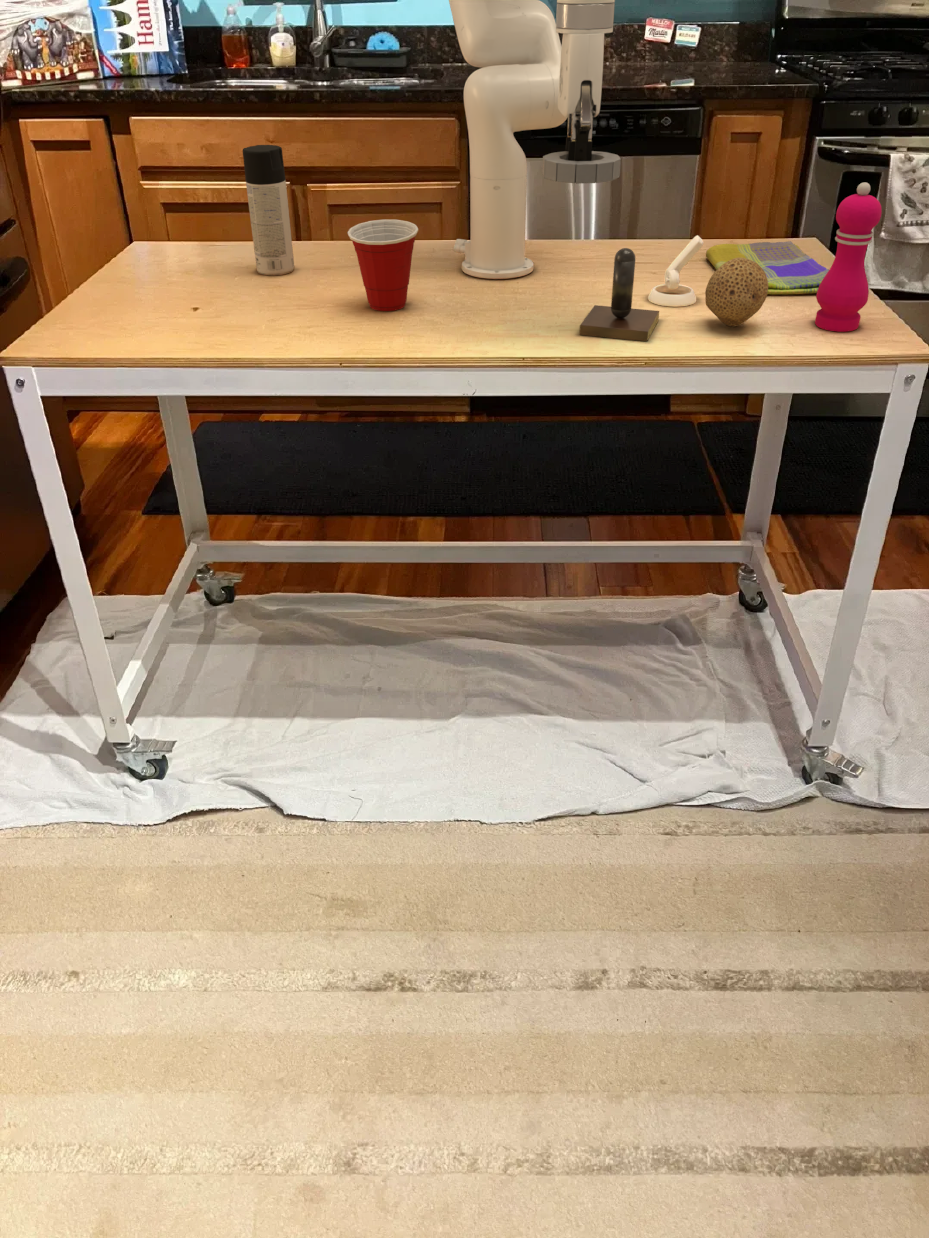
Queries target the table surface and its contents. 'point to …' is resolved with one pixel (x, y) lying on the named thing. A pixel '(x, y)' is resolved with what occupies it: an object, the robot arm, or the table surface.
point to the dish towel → (775, 265)
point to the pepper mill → (848, 263)
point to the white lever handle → (676, 280)
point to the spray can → (268, 209)
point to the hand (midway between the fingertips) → (577, 169)
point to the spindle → (621, 307)
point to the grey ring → (581, 168)
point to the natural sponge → (736, 291)
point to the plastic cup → (385, 260)
